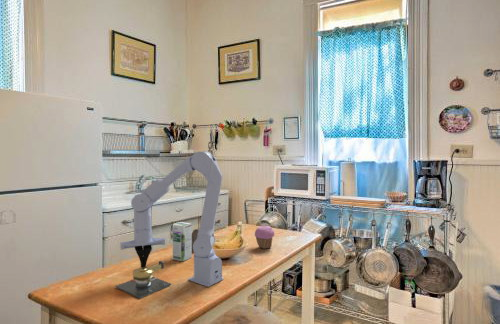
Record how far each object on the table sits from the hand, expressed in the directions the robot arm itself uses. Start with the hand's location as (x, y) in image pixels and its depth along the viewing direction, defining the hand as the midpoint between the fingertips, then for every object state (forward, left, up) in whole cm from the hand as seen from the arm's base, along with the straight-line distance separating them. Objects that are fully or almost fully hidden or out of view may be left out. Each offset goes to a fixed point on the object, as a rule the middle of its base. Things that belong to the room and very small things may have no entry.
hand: (143, 267), depth 114 cm
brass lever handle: (-5, +1, -1) cm, 5 cm away
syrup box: (+4, -22, -4) cm, 23 cm away
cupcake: (-15, -54, -4) cm, 56 cm away
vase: (+8, -34, -4) cm, 35 cm away
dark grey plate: (-6, +4, -4) cm, 8 cm away
